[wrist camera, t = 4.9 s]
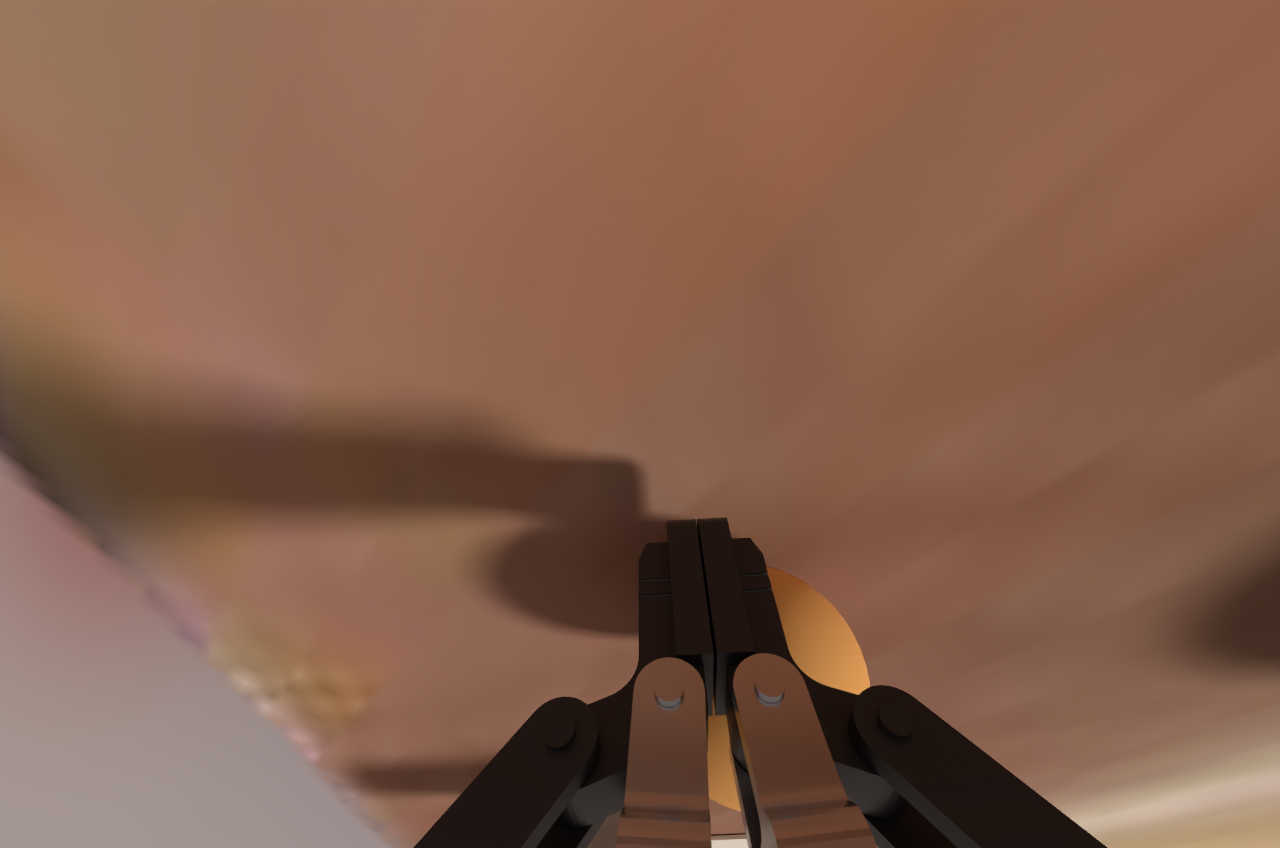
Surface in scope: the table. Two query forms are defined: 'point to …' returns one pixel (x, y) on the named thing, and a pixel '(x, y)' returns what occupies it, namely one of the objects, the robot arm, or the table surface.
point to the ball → (815, 649)
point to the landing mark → (729, 841)
